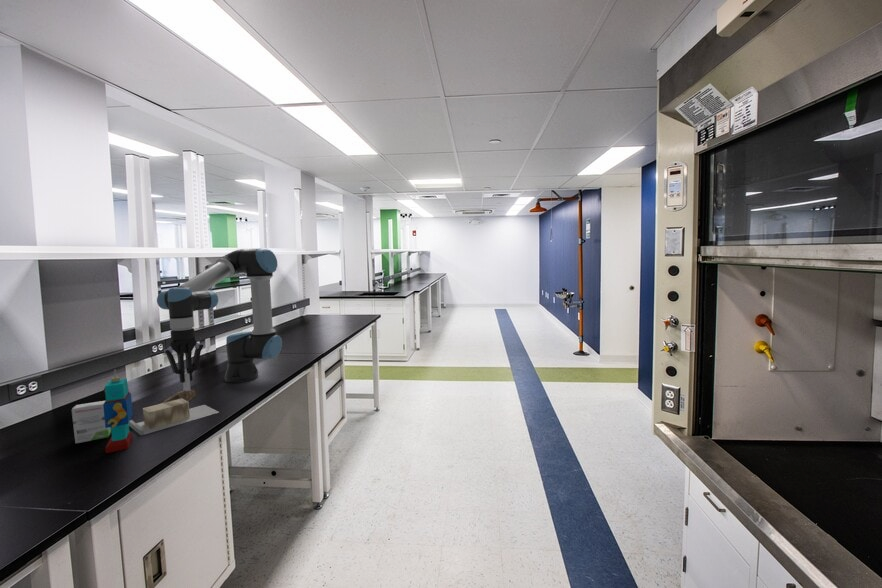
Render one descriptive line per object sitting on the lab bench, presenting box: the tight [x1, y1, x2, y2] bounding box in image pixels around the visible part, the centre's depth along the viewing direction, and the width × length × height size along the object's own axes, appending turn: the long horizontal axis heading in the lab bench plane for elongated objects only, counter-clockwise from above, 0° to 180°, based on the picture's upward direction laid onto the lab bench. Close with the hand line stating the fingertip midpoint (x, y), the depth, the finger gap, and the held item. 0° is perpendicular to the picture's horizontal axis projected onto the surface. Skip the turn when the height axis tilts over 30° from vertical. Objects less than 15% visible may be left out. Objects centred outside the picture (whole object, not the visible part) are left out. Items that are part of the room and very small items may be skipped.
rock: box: [161, 389, 197, 404], centre depth 164 cm, size 15×10×6 cm
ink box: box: [71, 400, 112, 444], centre depth 131 cm, size 9×5×12 cm, turn 121°
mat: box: [129, 404, 220, 436], centre depth 146 cm, size 25×14×2 cm, turn 142°
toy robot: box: [103, 369, 134, 454], centre depth 125 cm, size 12×6×25 cm, turn 30°
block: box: [142, 398, 190, 429], centre depth 144 cm, size 6×7×12 cm
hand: (187, 390), depth 149 cm, fingers closed
